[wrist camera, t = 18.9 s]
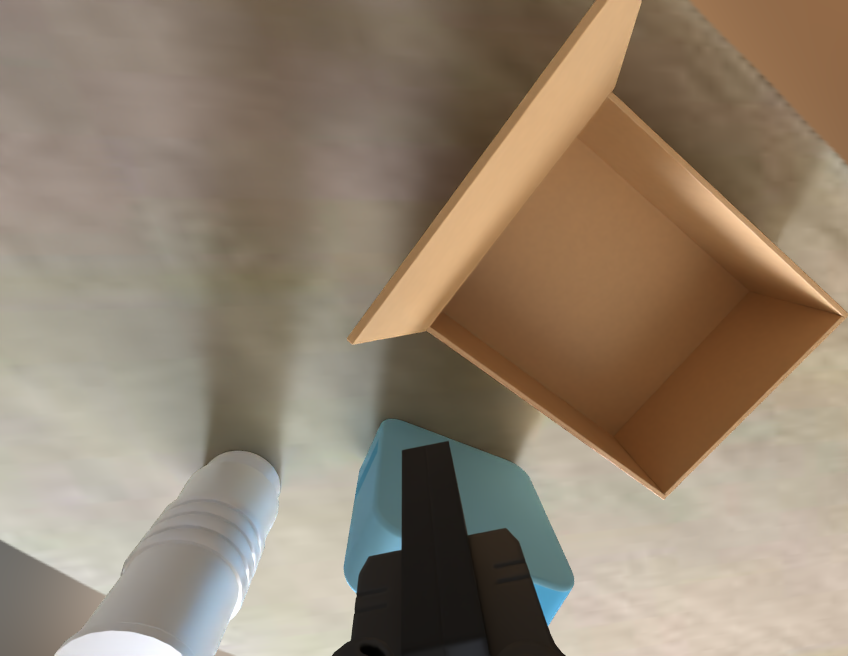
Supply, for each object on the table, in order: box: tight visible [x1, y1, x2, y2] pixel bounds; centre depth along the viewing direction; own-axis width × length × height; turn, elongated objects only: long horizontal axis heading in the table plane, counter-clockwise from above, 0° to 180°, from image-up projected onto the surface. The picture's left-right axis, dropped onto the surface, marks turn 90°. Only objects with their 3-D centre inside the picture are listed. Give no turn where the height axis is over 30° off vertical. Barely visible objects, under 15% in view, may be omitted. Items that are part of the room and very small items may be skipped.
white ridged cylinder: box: [54, 451, 280, 656], centre depth 27 cm, size 7×7×15 cm
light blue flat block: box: [344, 419, 574, 625], centre depth 29 cm, size 12×4×12 cm, turn 66°
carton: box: [426, 92, 848, 499], centre depth 28 cm, size 19×15×7 cm
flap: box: [347, 0, 642, 344], centre depth 18 cm, size 9×14×1 cm
